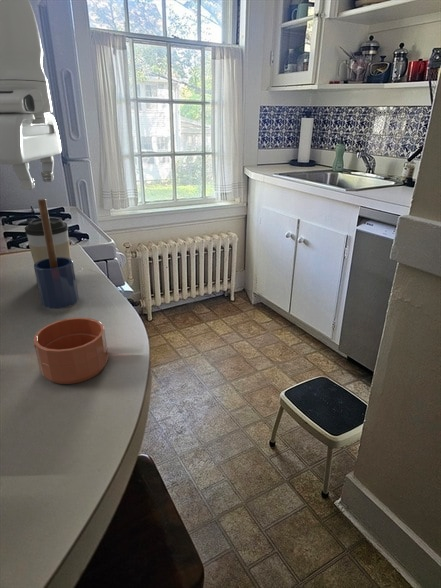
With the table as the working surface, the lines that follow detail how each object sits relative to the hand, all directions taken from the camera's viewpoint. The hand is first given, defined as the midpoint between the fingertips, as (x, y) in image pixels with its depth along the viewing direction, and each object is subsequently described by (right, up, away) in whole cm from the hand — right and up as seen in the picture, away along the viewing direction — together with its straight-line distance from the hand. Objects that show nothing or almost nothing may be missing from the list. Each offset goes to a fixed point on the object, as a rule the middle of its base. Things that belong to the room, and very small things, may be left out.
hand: (39, 185), depth 72 cm
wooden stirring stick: (0, -21, +10) cm, 24 cm away
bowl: (+11, -31, -11) cm, 35 cm away
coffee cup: (-6, -17, +21) cm, 28 cm away
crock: (0, -22, +10) cm, 24 cm away
